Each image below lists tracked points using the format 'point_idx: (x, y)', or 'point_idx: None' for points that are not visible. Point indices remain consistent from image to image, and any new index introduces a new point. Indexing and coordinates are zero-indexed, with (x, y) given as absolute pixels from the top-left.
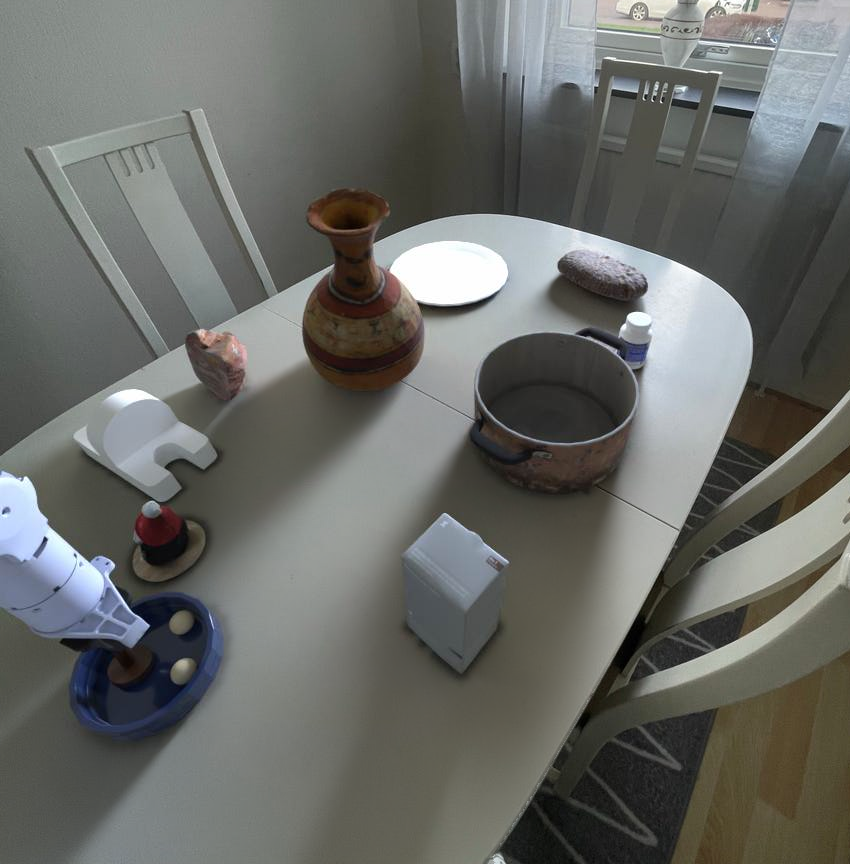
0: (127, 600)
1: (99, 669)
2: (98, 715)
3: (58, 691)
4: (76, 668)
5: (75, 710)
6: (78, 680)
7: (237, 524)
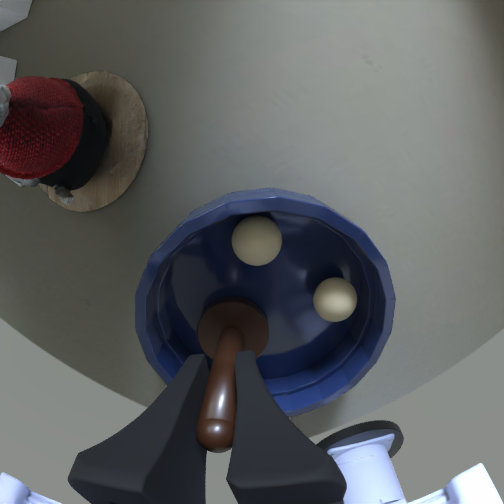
0: (344, 484)
1: (185, 349)
2: None
3: None
4: None
5: None
6: None
7: (163, 22)
